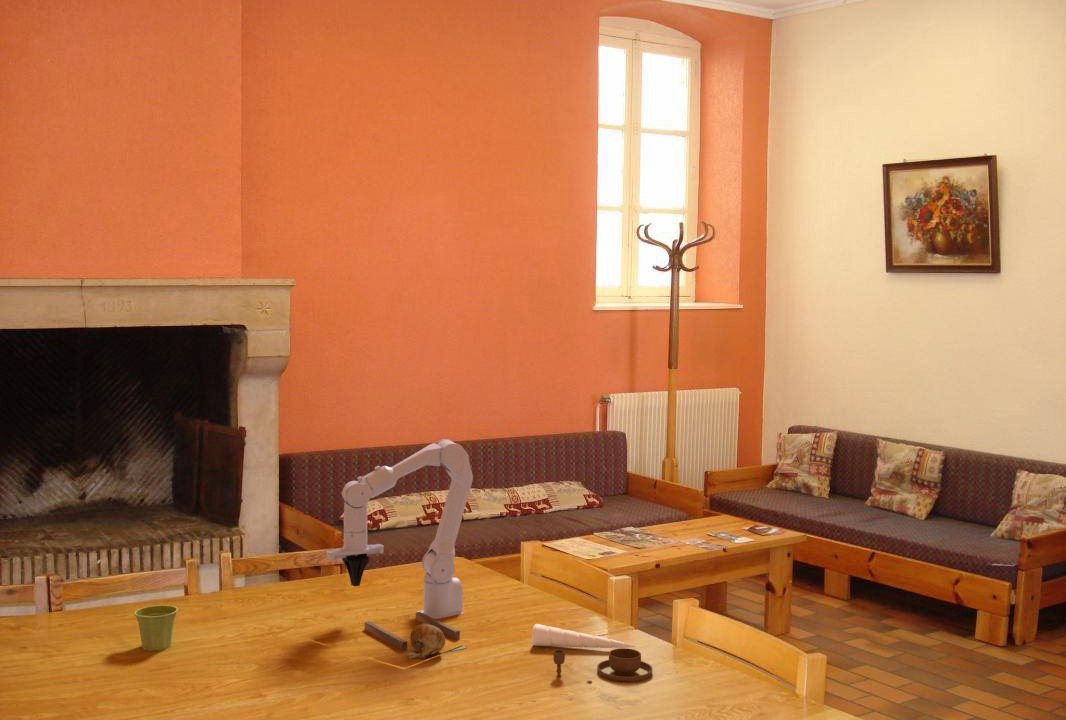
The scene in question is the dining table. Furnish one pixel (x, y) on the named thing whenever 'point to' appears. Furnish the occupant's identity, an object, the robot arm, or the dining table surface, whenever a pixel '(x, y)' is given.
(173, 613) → the plant pot
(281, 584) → the dining table surface
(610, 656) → the place setting
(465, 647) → the panel
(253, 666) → the dining table surface
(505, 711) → the dining table surface
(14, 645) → the dining table surface
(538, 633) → the unicorn horn
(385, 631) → the cart frame
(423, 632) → the onion
